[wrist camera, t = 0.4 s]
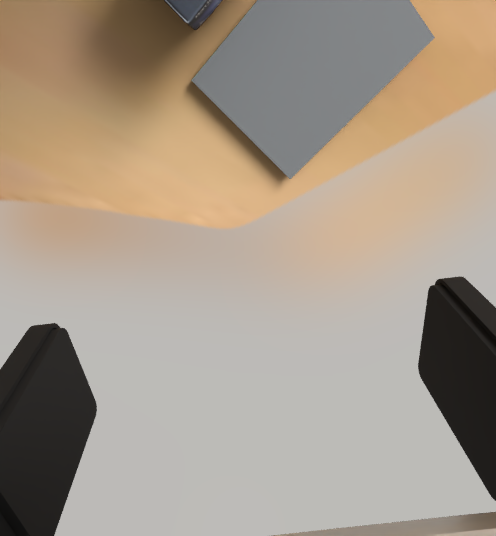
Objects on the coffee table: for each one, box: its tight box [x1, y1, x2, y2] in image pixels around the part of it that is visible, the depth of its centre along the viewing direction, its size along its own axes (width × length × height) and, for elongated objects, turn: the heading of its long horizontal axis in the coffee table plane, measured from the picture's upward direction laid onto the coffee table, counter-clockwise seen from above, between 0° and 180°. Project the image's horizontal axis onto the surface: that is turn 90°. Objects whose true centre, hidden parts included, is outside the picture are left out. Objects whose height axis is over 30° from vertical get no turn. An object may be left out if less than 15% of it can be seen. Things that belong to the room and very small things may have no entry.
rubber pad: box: [191, 0, 435, 179], centre depth 33 cm, size 16×12×2 cm
